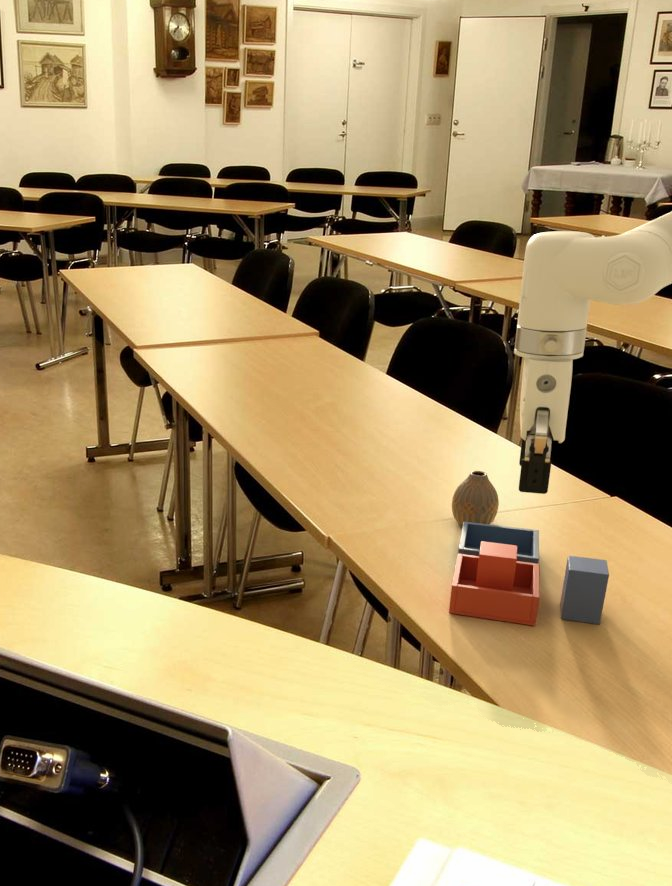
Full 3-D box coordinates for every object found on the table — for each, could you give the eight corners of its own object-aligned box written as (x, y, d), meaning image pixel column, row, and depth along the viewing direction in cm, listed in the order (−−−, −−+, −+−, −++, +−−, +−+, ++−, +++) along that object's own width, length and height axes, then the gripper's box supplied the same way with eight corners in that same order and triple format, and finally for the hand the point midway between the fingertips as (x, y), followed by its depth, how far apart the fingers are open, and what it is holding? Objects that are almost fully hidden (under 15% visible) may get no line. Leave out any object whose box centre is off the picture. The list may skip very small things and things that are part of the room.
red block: (510, 593, 122) (517, 545, 119) (509, 608, 118) (516, 559, 115) (475, 587, 123) (481, 540, 121) (473, 602, 119) (479, 554, 117)
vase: (458, 513, 149) (463, 462, 145) (501, 522, 145) (508, 470, 141) (443, 527, 144) (449, 476, 140) (488, 537, 140) (494, 484, 136)
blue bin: (535, 555, 134) (538, 530, 132) (535, 585, 125) (539, 558, 123) (460, 545, 137) (463, 521, 136) (455, 574, 128) (458, 548, 127)
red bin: (535, 590, 123) (539, 563, 122) (535, 626, 114) (539, 597, 113) (454, 579, 127) (457, 553, 125) (448, 613, 118) (451, 585, 116)
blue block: (597, 608, 118) (606, 560, 115) (599, 624, 114) (609, 574, 112) (560, 603, 120) (568, 555, 117) (560, 619, 116) (569, 569, 113)
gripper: (589, 358, 98) (568, 506, 104) (581, 329, 113) (563, 460, 119) (514, 355, 101) (498, 500, 107) (516, 327, 115) (501, 455, 122)
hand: (532, 478), depth 113 cm, fingers open, 9 cm apart
